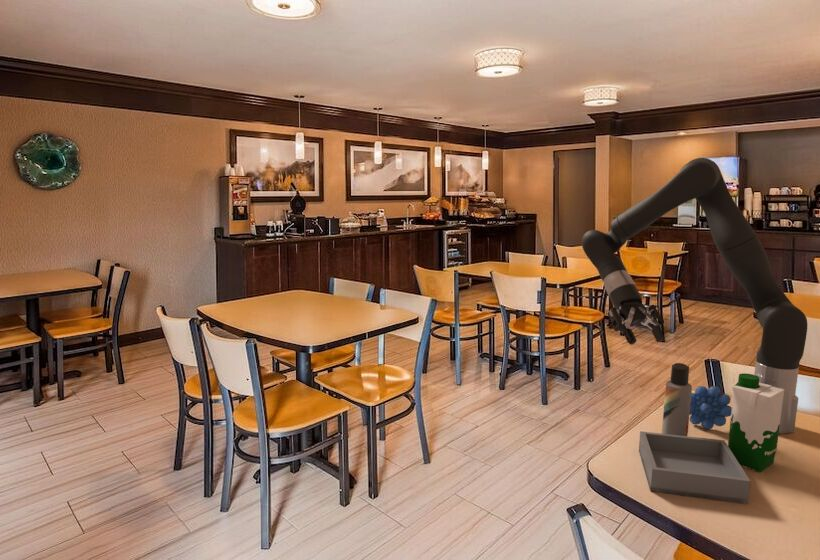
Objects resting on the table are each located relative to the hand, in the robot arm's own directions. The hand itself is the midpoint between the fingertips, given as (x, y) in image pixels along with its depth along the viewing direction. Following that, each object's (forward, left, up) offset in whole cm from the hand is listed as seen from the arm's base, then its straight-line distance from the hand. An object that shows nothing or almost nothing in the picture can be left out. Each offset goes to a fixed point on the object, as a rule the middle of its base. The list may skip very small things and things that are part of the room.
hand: (647, 342), depth 142 cm
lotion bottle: (-6, +10, -23) cm, 25 cm away
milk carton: (-21, +16, -23) cm, 35 cm away
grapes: (-16, -1, -23) cm, 28 cm away
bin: (-6, +26, -22) cm, 35 cm away
